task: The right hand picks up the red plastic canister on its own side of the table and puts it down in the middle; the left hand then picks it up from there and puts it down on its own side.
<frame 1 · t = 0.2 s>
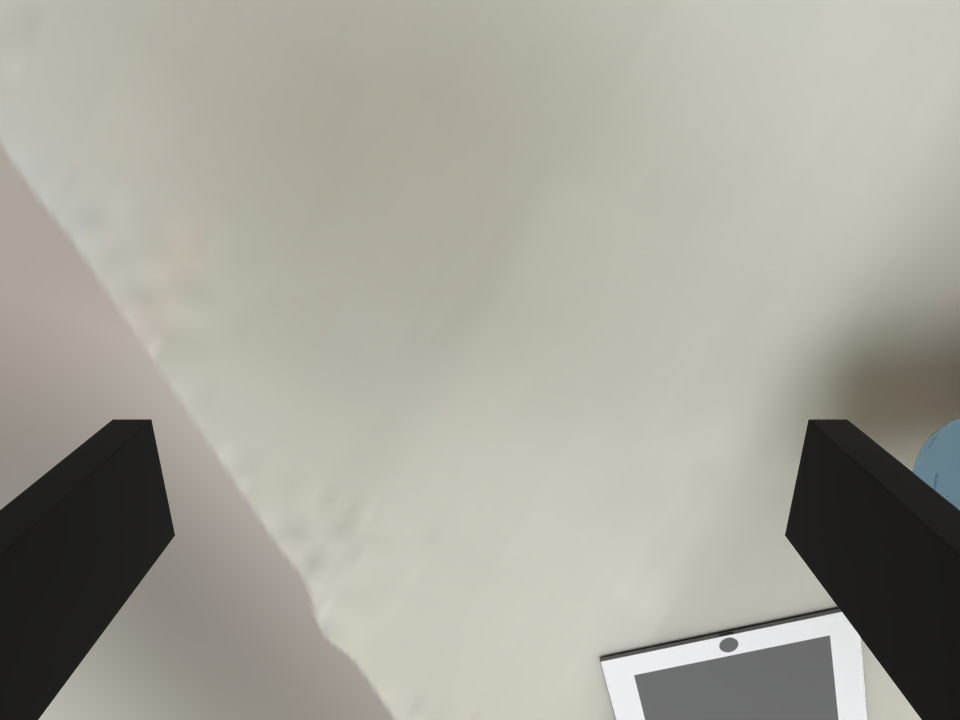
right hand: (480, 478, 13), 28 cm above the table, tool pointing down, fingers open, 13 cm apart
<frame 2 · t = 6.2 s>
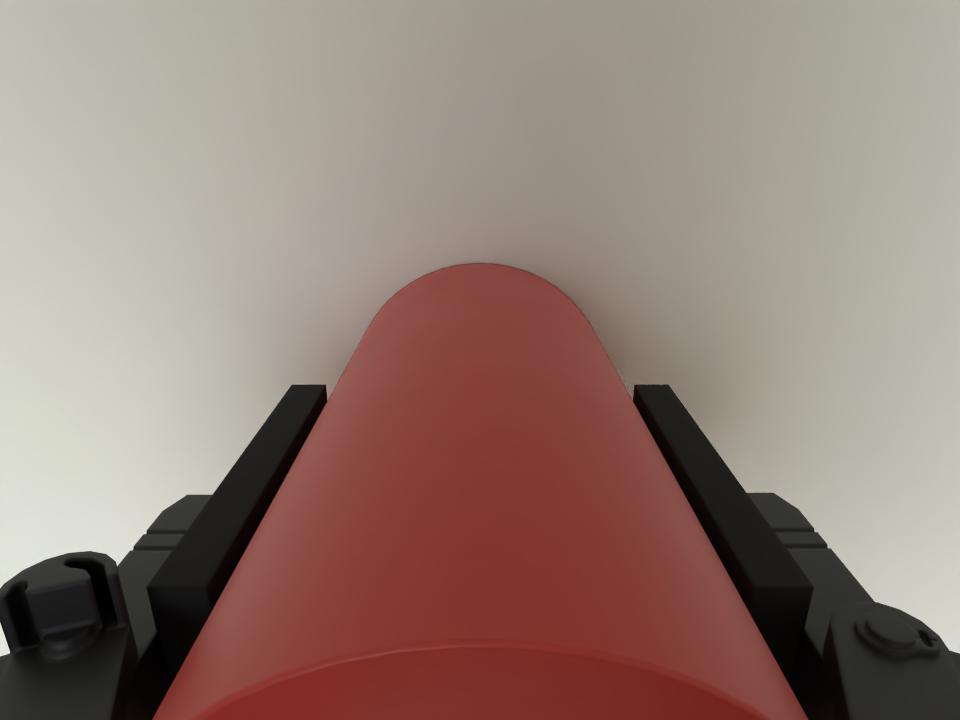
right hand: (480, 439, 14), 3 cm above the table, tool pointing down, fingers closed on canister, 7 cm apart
canister: (480, 386, 17), on the table, touching right hand
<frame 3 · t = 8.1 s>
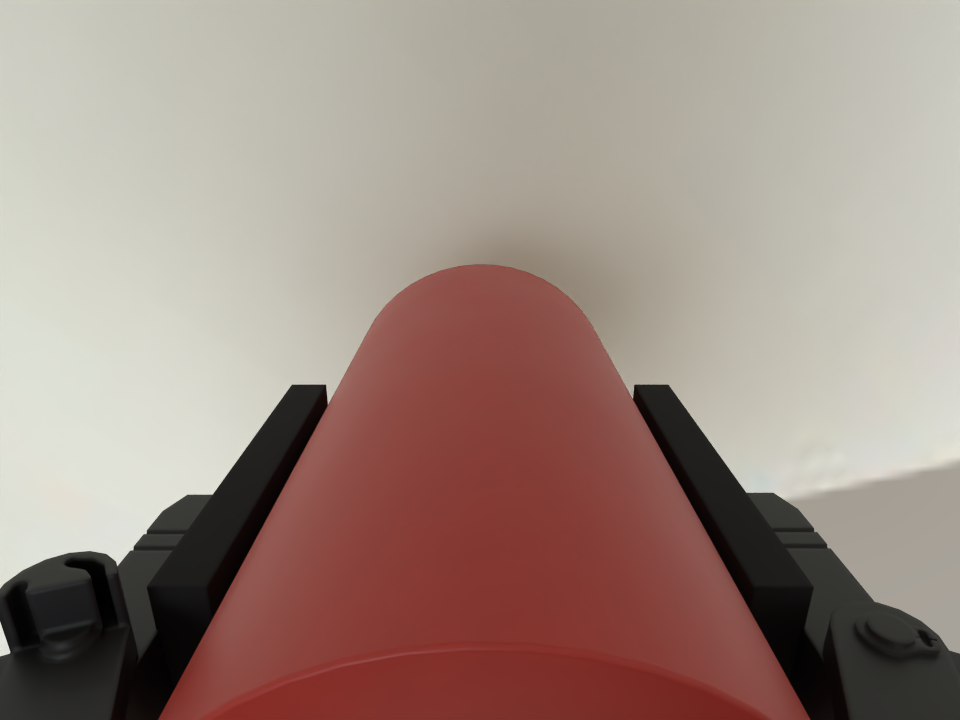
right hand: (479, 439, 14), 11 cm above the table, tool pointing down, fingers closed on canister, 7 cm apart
canister: (481, 387, 17), point 7 cm above the table, touching right hand
when the right hand's fingers open (5 cm above the table, at t = 10.0 s): canister drops 2 cm, on the table.
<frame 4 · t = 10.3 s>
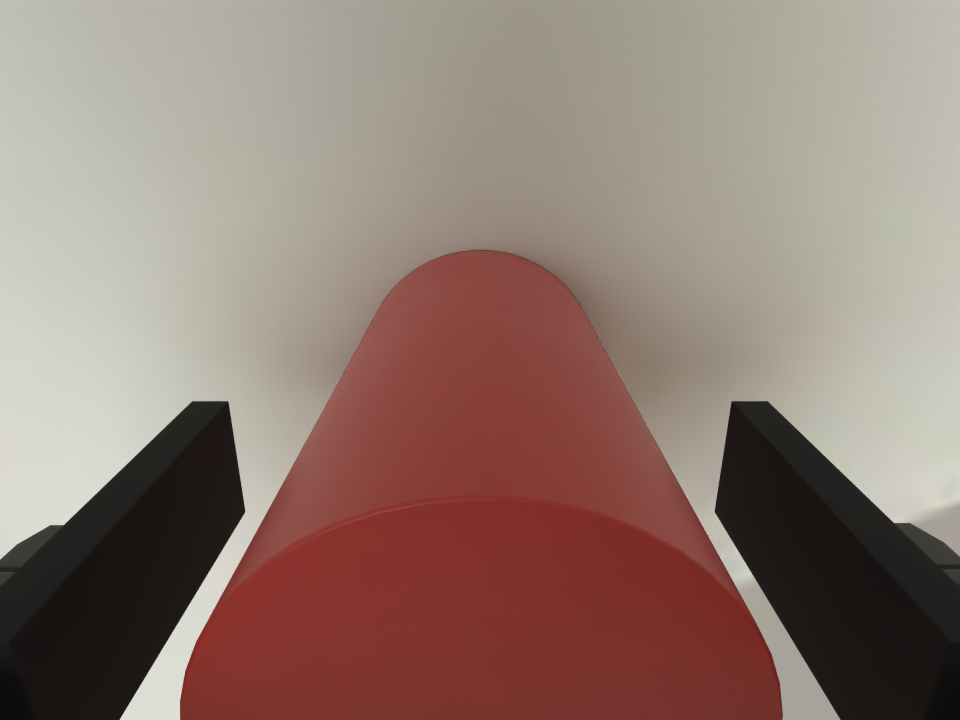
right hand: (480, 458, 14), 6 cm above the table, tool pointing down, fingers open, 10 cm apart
canister: (480, 362, 19), on the table
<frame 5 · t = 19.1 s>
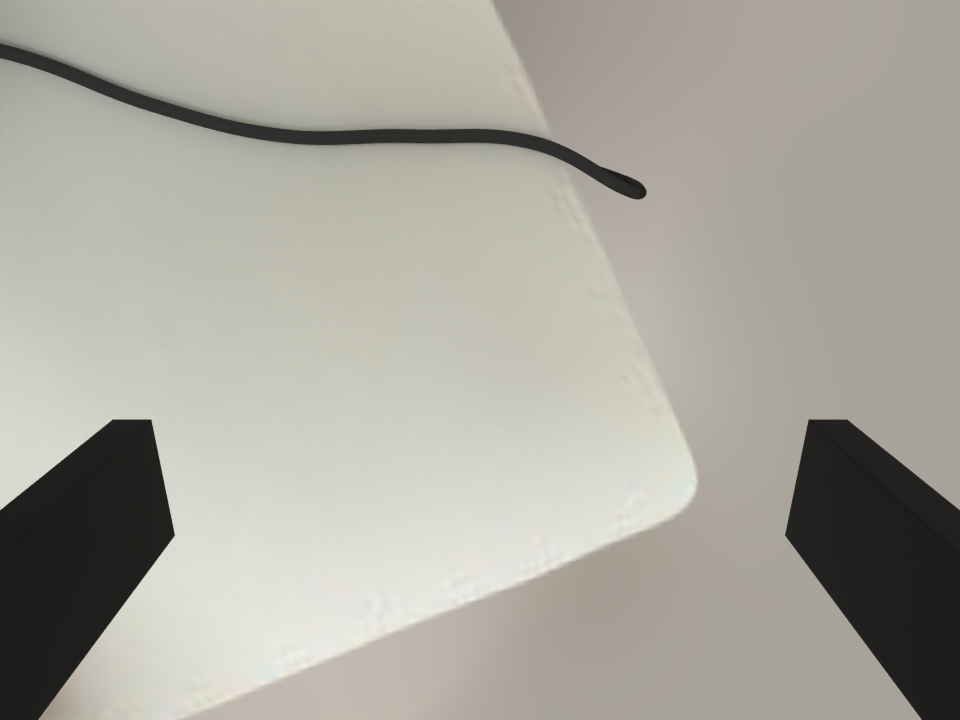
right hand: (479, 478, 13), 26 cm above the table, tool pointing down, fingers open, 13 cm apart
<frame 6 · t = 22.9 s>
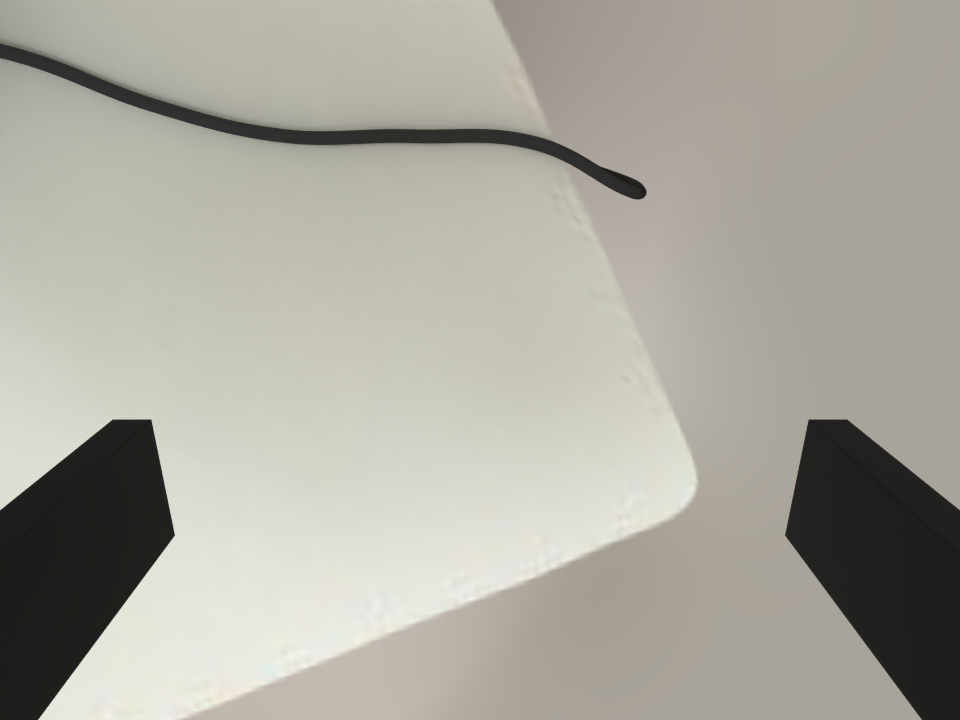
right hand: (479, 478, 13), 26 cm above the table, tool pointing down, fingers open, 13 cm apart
when the left hand's fingers open (5 cm above the table, at t = 26.8 s): canister drops 2 cm, on the table.
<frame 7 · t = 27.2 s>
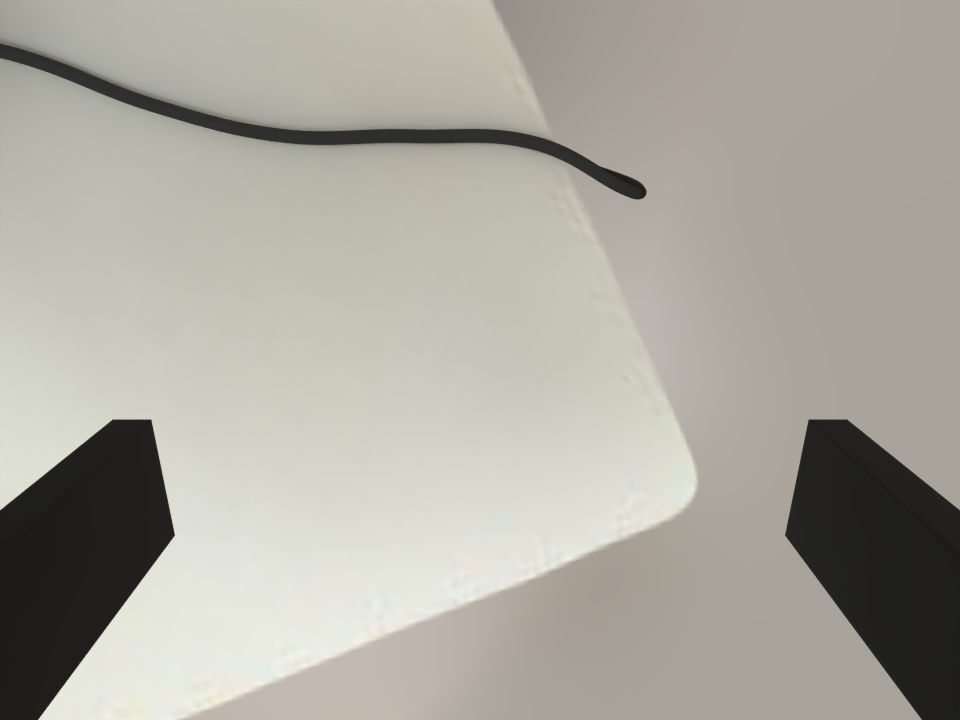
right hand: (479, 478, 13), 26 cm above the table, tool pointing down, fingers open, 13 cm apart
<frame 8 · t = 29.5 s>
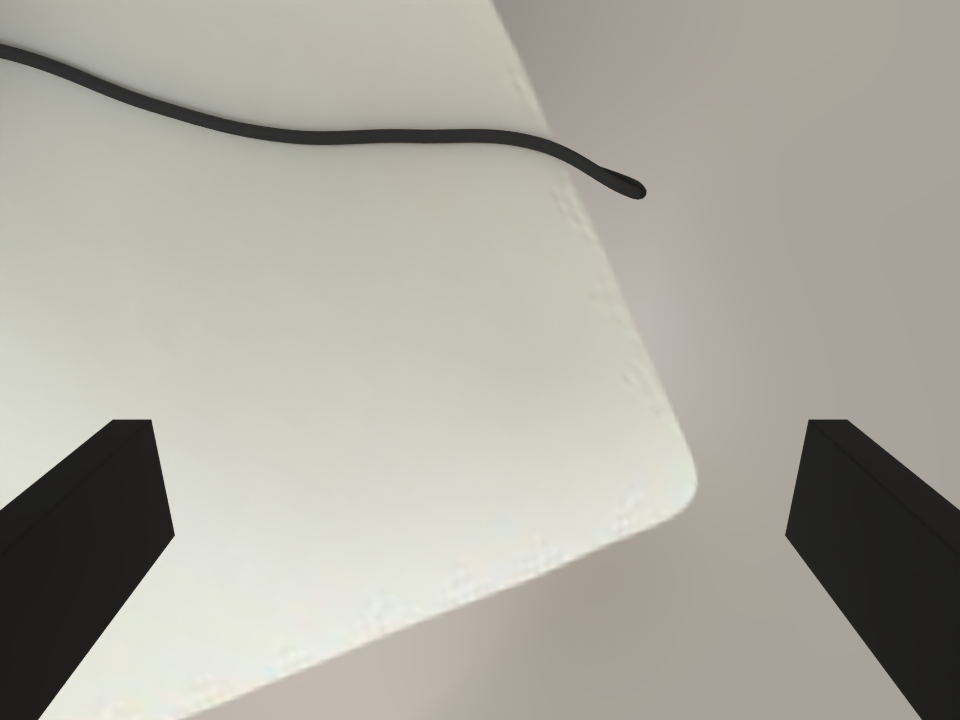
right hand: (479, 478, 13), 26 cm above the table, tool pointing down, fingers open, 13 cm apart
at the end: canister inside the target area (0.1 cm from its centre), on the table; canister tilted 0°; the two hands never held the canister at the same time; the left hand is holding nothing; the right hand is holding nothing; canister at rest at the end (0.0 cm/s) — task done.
